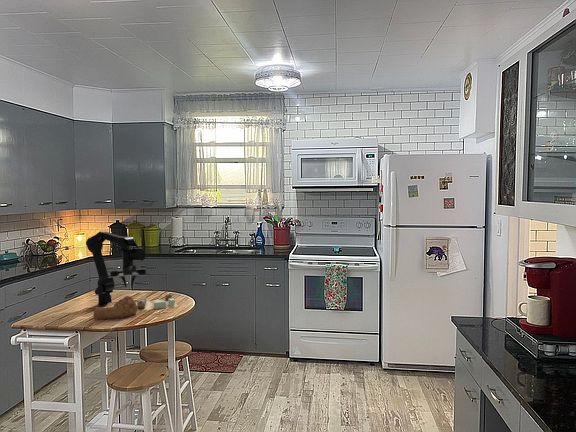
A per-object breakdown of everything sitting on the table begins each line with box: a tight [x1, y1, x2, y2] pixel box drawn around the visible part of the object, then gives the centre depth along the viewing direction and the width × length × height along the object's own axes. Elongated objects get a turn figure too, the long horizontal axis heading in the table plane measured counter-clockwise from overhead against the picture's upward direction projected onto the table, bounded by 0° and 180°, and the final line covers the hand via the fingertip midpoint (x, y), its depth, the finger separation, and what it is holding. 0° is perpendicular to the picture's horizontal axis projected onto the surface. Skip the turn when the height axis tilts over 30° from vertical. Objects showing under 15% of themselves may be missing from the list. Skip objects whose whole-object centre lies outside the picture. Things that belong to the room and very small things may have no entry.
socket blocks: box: [154, 297, 176, 310], centre depth 259 cm, size 11×7×3 cm, turn 114°
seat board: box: [135, 293, 179, 312], centre depth 264 cm, size 23×21×4 cm
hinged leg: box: [136, 296, 148, 309], centre depth 261 cm, size 16×4×4 cm, turn 12°
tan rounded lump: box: [92, 295, 138, 321], centre depth 240 cm, size 19×11×15 cm
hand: (128, 287), depth 263 cm, fingers open, 3 cm apart
